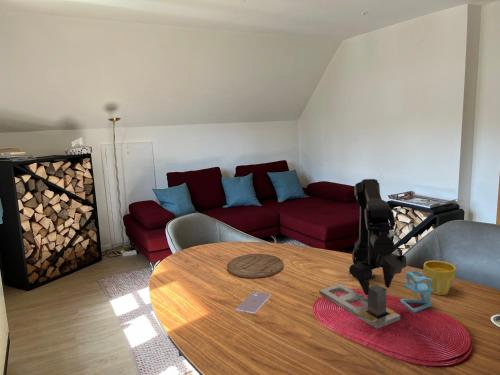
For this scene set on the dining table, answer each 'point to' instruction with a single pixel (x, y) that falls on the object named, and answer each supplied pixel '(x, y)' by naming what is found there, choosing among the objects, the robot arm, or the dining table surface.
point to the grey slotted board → (361, 310)
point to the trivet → (255, 266)
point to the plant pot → (439, 276)
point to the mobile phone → (253, 302)
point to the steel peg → (377, 301)
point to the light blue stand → (418, 290)
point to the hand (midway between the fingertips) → (377, 290)
